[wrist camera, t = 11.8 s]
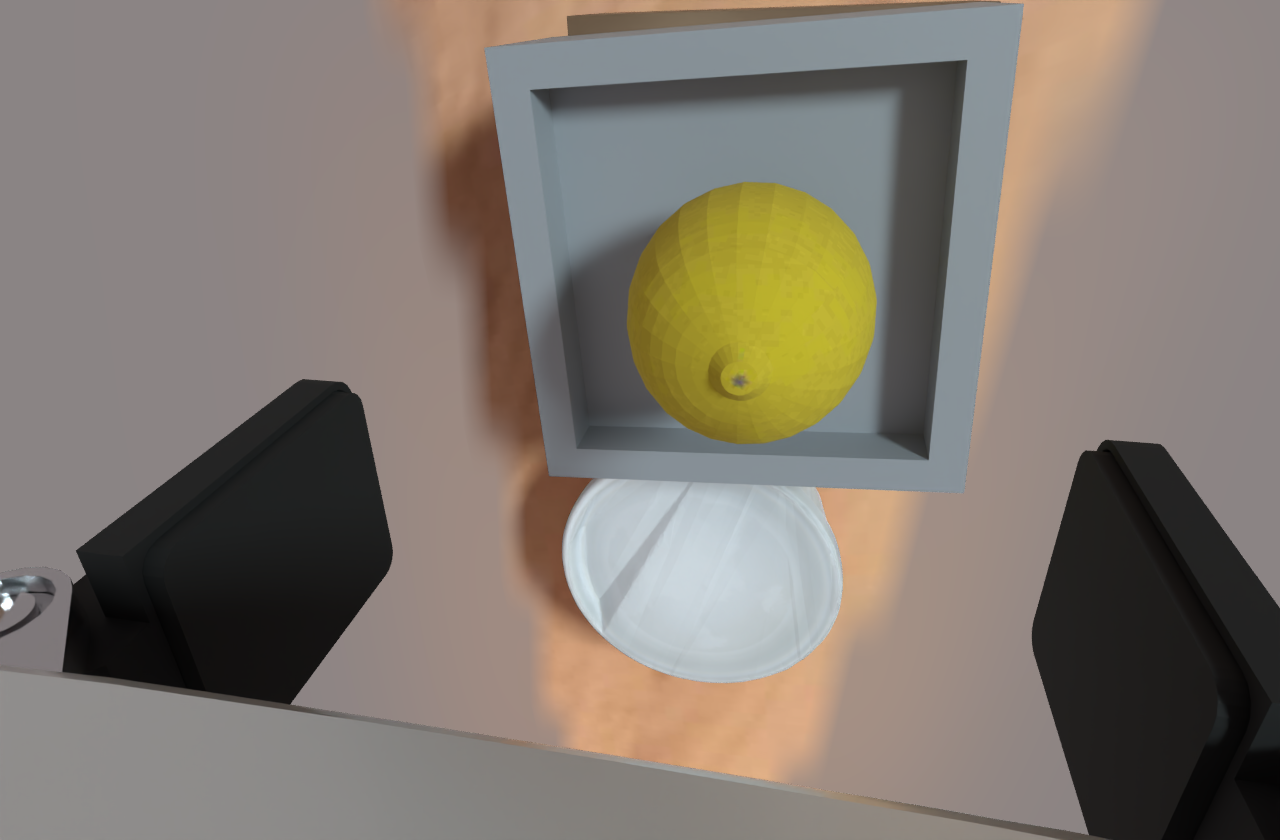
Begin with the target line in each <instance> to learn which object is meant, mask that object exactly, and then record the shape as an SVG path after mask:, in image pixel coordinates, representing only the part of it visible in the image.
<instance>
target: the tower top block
mask: <svg viewBox="0 0 1280 840" xmlns="http://www.w3.org/2000/svg"><path fill="white" fill-rule="evenodd" d="M1023 7H1024V4H1018V3H997V2H972V3H960V4H947V5H935V6H923V7H911V8H899V9H887V10H875V11H863V12H851V13H839V14H827V15H815V16H803V17H791V18H779V19H767V20H755V21H743V22H731V23H718V24H706V25H694V26H682V27H670V28H658V29H646V30H634V31H622V32H610V33H598V34H586V35H574V36H562V37H551V38H545V39H538V40H532V41H525V42H519V43H512V44H506V45H499V46H493V47H486V48H485V55H486V61H487V68H488V75H489V81H490V88H491V95H492V101H493V108H494V114H495V121H496V128H497V134H498V141H499V148H500V154H501V161H502V167H503V174H504V181H505V187H506V194H507V201H508V207H509V214H510V220H511V227H512V234H513V240H514V247H515V254H516V260H517V267H518V274H519V280H520V287H521V293H522V300H523V307H524V313H525V320H526V327H527V333H528V340H529V346H530V353H531V360H532V366H533V373H534V380H535V386H536V393H537V399H538V406H539V413H540V419H541V426H542V433H543V439H544V446H545V452H546V459H547V466H548V472H549V476H556V477H580V478H605V479H629V480H653V481H677V482H702V483H726V484H750V485H775V486H799V487H823V488H847V489H872V490H896V491H920V492H945V493H964V489H965V482H966V473H967V465H968V457H969V449H970V441H971V432H972V424H973V416H974V408H975V400H976V391H977V383H978V375H979V367H980V359H981V351H982V342H983V334H984V326H985V318H986V310H987V301H988V293H989V285H990V277H991V269H992V260H993V252H994V244H995V236H996V228H997V220H998V211H999V203H1000V195H1001V187H1002V179H1003V170H1004V162H1005V154H1006V146H1007V138H1008V129H1009V121H1010V113H1011V105H1012V97H1013V89H1014V80H1015V72H1016V64H1017V56H1018V48H1019V39H1020V31H1021V23H1022V15H1023ZM741 182H762V183H777V184H780V185H784V186H787V187H790V188H793V189H797V190H800V191H803V192H806V193H807V194H809V195H811V196H812V197H814V198H815V199H817V200H819V201H820V202H822V203H823V204H825V205H827V206H828V207H830V208H831V209H832V210H833V211H834V212H835V213H836V214H837V215H838V216H839V217H840V218H841V219H842V220H843V222H844V223H845V224H846V225H847V226H848V227H849V228H850V229H851V230H852V231H853V232H854V234H855V235H856V237H857V239H858V241H859V243H860V245H861V247H862V249H863V251H864V253H865V255H866V257H867V259H868V261H869V264H870V267H871V272H872V277H873V282H874V287H875V292H876V298H877V305H876V319H875V332H874V338H873V342H872V345H871V347H870V350H869V353H868V355H867V358H866V361H865V364H864V366H863V369H862V372H861V374H860V375H859V377H858V378H857V380H856V381H855V383H854V384H853V386H852V387H851V389H850V390H849V391H848V393H847V394H846V396H845V397H844V399H843V400H842V401H841V403H840V404H839V405H838V406H836V407H835V408H834V409H833V410H832V411H831V412H830V413H828V414H827V415H826V416H825V417H824V418H823V419H822V420H820V421H819V422H818V423H816V424H815V425H813V426H811V427H809V428H807V429H805V430H803V431H801V432H799V433H797V434H795V435H793V436H791V437H788V438H784V439H780V440H776V441H772V442H768V443H764V444H734V443H729V442H724V441H719V440H714V439H710V438H708V437H706V436H703V435H701V434H699V433H697V432H694V431H692V430H690V429H688V428H686V427H685V426H684V425H682V424H681V423H679V422H678V421H677V420H675V419H674V418H673V417H671V416H670V415H669V414H667V413H666V412H665V411H664V409H663V408H662V407H661V406H660V404H659V403H658V402H657V401H656V400H655V398H654V397H653V396H652V395H651V394H650V392H649V391H648V390H647V389H646V387H645V384H644V382H643V380H642V378H641V376H640V374H639V372H638V370H637V368H636V366H635V363H634V360H633V356H632V351H631V346H630V341H629V336H628V331H627V311H628V296H629V288H630V285H631V282H632V279H633V276H634V273H635V270H636V267H637V264H638V261H639V258H640V256H641V254H642V252H643V251H644V249H645V248H646V246H647V245H648V243H649V242H650V240H651V238H652V237H653V235H654V234H655V232H656V231H657V229H658V228H659V227H660V225H661V224H662V223H664V222H665V221H666V220H667V219H668V218H669V217H670V216H671V215H672V214H674V213H675V212H676V211H677V210H678V209H679V208H680V207H681V206H683V205H684V204H685V203H687V202H689V201H690V200H692V199H694V198H696V197H698V196H700V195H702V194H704V193H706V192H708V191H710V190H712V189H714V188H719V187H723V186H728V185H732V184H737V183H741Z"/></svg>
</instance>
